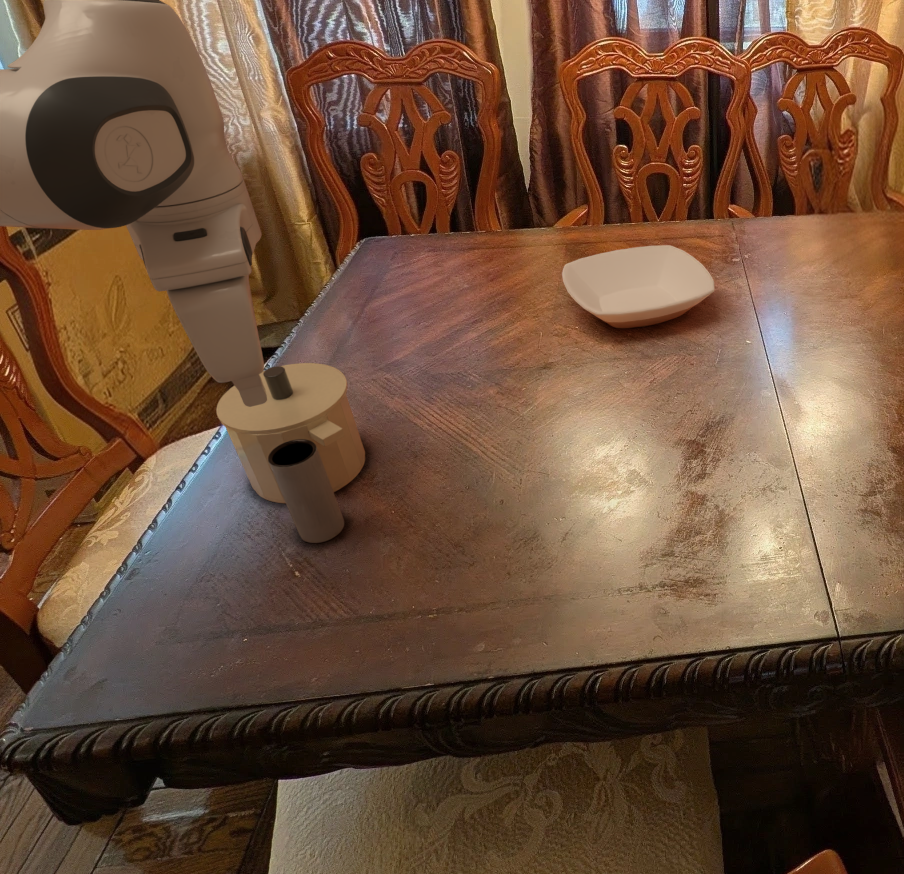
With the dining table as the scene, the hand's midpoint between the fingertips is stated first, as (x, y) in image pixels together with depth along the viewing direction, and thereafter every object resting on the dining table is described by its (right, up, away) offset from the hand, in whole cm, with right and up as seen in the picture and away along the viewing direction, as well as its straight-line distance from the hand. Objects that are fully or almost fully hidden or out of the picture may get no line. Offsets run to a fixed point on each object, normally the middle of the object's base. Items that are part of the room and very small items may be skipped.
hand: (252, 375), depth 71 cm
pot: (-5, -9, +23) cm, 25 cm away
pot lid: (-6, -1, +17) cm, 18 cm away
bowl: (+31, +14, +53) cm, 64 cm away
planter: (0, -15, +14) cm, 21 cm away
